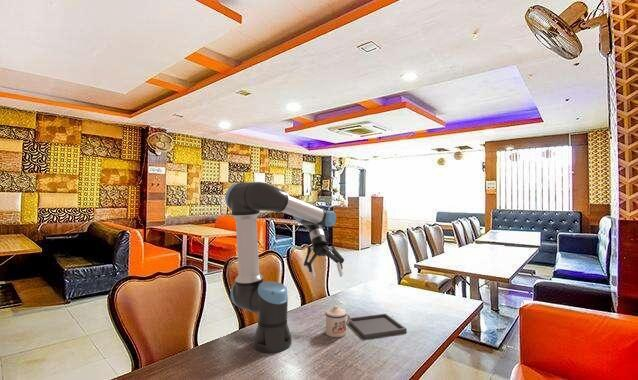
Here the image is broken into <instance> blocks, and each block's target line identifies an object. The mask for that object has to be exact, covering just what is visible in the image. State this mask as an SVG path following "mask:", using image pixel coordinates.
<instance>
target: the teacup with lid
mask: <svg viewBox="0 0 638 380" xmlns="http://www.w3.org/2000/svg"><path fill="white" fill-rule="evenodd" d="M350 318H351V316H350V314H349V313H347V311H346V310H345V309H343V308H341V307H339V305H333V307H331V308H329V309H327V310H325V333H326V335H327V336H328V337H332V338H342V337H344V336H345V335H346V334H347V326H348V325H349V322H350Z"/></svg>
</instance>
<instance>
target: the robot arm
mask: <svg viewBox="0 0 638 380" xmlns="http://www.w3.org/2000/svg"><path fill="white" fill-rule="evenodd" d="M224 199H225V200H224V201H225V204H226V206H228V208H229V209H230V211H231V217H233V218H234V219H235V227H236V229H235V230H236V231H235V232H236V246H237V247H236V248H237V249H236V251H237V265H238V267H237V269H238V270H237V271H238V275H237V276H236V277H235V279H234V283H233V284H232V287H231V289H230V299H231V301H232V303H233V304H234V305H235V306H236V307H238V308H240V309H241V310H246V311H249V312H251V313H254V314H257V326H256V330H255V333H254V336H253V338H252V339H253V341H252V342H253V343H252V345H253V349H255V350H256V351H258V352H261V353H267V354H268V353H269V354H271V353H272V354H273V353H280V352H283V351H285V350H287V349H288V348H290V347H291V345H292V334H291V332H290V328H289V325H288V301H289V297H288V289H287V287H286V285H284V283H281V282H278V281H270V280H269V281H264V275H262V274H261V273H260V259H259V244H258V243H259V242H258V222H257V217H258V216H259V215H260V214H261V211H263V212H274V213H277V214H280V213H283V214H286V215H290V216H293V219H295V221H297V223H299V224H301V225H302V226H304V227H305V228H306V229H307V230H308V233H309V238H310V242H311V246H312V247H310V246H308V247H307V249H306V250H307V251H306V252H307V253H306V256H305V258H304V263H303V266H304V267H307V268H308V272H309V273H311V278H312V280H315V278H316V272H315V268H314V264H313V263H314V260H315V259H316V258H317V257H328V258H330V260H332V261H333V262H334V263H336V269H337V272H338V274H339V275H338V276H339V277H343V275H344V273H343V269H344V267H343V264H344V261H345V258H344V257H343V256H342V255H341V254H340V253H339V252H338V250H337V249H336V248H335V246H334V245H331V246H328V242H327V238H326V236H325V231H324V228H323V227H333V226H335V224H336V223H337V214H336V213H335V211H333V210H325V209H323V208H320V207H318V206H316V205H313V204H311V203H308V202H305V201H303V200H300V199H298V198H297V197H293V196H292V195H290V194H289V193H288V192H287V191H285V190H283V189H281V188H278V187H276V186H274V185H271V184H269V183H266V182H262V181H254V182H253V181H252V182H251V181H248V182H247V181H246V182H244V181H240V182H236V183H233V184H231V185H230V186H229V187H228V188H227V190H226V193H225V198H224ZM312 252H313V253H314V254H313V255H312V256H311V258H310V259H309V257H310V254H311V253H312Z"/></svg>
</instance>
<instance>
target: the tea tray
mask: <svg viewBox="0 0 638 380" xmlns="http://www.w3.org/2000/svg"><path fill="white" fill-rule="evenodd" d="M348 325H350V326H351V327H352V328H353V329H354V330H355V331H356V332H357V333H358V334H359V335H360V336H361V337H362V338H363V339H364V340H367V339H375V338H381V337H387V336H388V337H389V336H394V335H395V336H396V335H400V334H407V328H406V327H405V326H404V325H402V324H401V323H399V322H398V321H396V320H395V319H394V318H392V317H391V316H390V315H389V314H387V313H380V314H379V313H378V314H372V315H371V314H370V315H364V316H355V317H350V322H349V323H348Z"/></svg>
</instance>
